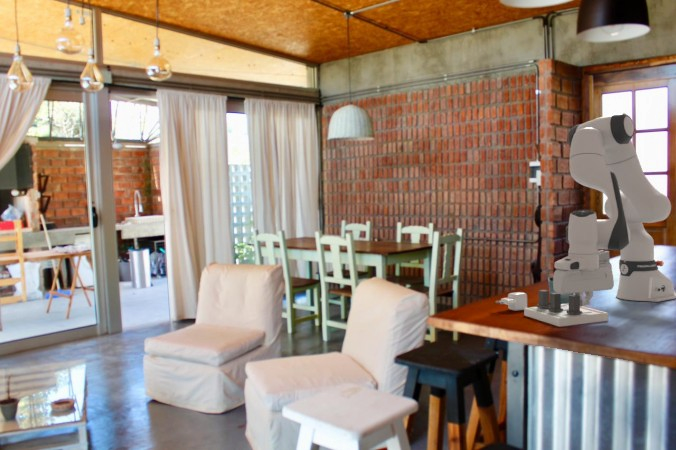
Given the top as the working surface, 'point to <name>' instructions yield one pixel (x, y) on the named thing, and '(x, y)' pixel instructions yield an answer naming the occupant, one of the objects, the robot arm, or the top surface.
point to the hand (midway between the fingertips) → (584, 305)
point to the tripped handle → (574, 305)
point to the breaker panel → (566, 315)
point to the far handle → (543, 299)
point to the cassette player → (603, 255)
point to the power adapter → (515, 301)
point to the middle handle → (555, 302)
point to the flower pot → (563, 296)
